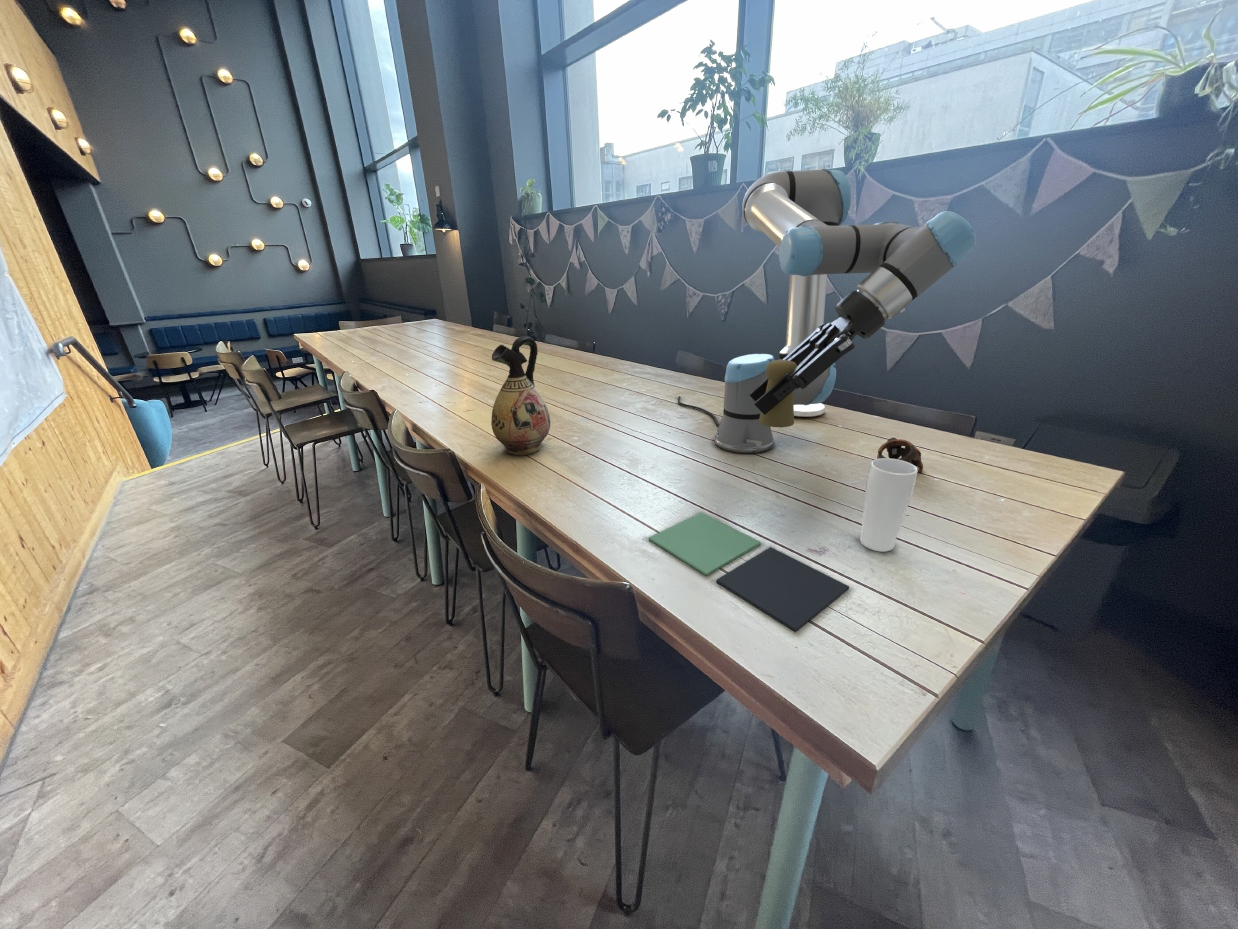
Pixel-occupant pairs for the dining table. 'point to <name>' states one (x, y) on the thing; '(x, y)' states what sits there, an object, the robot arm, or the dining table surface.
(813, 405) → the plastic lid
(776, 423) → the olive game pawn
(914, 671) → the dining table surface
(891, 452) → the brown notched ring
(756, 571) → the slate mat
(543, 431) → the ceramic jug
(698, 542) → the sage mat
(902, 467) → the drinking glass
